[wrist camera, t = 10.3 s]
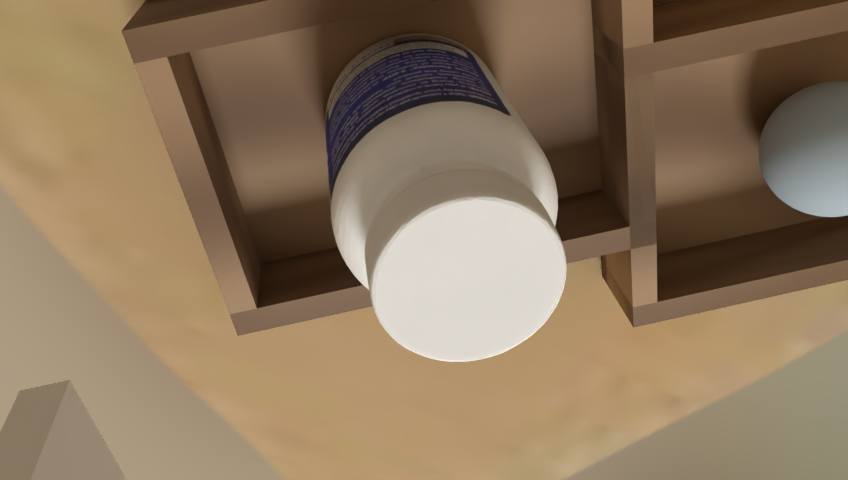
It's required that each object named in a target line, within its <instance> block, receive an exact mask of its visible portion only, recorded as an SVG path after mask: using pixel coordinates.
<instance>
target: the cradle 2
mask: <svg viewBox="0 0 848 480" xmlns="http://www.w3.org/2000/svg"><path fill="white" fill-rule="evenodd" d="M592 27H593V44H594V52H595V53H596V54H597V55H599V56H600V57H601V58H602V59H603V60H604V61H605V62H608V61H607V60H608V58H611V57H609V56H610V55H611V53H609V52H610V51H611V50H612V49H611V50H609V49H610V48H612V47H613V45H612V47H610V48H607V47H608V46H607V45H606V44H610V43H608V42H609V41H610V39H609V38H608V36H606V35H605V34H604V33H603V32H601V31H600V30H599V29H598V28H596V27H595V26H594V25H593V24H592ZM603 35H604V36H603ZM606 37H607V39H606ZM608 39H609V40H608ZM611 41H612V40H611ZM611 41H610V42H611ZM603 43H605V44H603ZM611 44H614V43H611ZM615 45H616V44H615ZM609 46H610V45H609ZM605 49H606V51H605ZM607 49H608V50H607ZM612 51H613V50H612ZM607 52H608V53H609V56H608V53H607ZM605 53H606V54H605ZM636 53H637V54H636ZM623 54H624V64H625V65H624V81H625V84H626V85H625V97H626V98H625V108H626V120H627V121H626V129H627V130H626V135H627V138H629V139H627V162H628V175H629V176H628V189H629V193H632V194H629V207H631V208H629V217H630V216H632V217H630V228H631V229H630V232H631V234H630V236H631V235H632V234H633V233H634V234H633V235H634V238H633V235H632V236H631V237H632V238H633V240H632V242H631V240H630V242H631V243H630V244H632V245H633V243H635V244H634V245H637V246H635V247H638V248H634V249H630V250H625V251H621V252H616V253H612V254H607V255H603V256H601V259H602V276H603V278H604V280H605V282H606V283H607V285H608V287H609V288H610V290H611V291H612V293H613V295H614V296H615V298H616V300H617V301H618V303H619V304H620V306H621V308H622V309H623V311H624V313H625V314H626V316H627V317H628V319H629V321H630V322H631V324H632V326H633V327H638V326H642V325H647V324H651V323H656V322H660V321H664V320H669V319H673V318H678V317H682V316H687V315H691V314H696V313H700V312H705V311H709V310H714V309H718V308H723V307H727V306H732V305H736V304H741V303H745V302H750V301H754V300H759V299H763V298H768V297H772V296H777V295H781V294H786V293H790V292H795V291H799V290H804V289H808V288H813V287H817V286H822V285H826V284H831V283H835V282H840V281H844V280H848V215H847V216H840V217H821V216H815V215H811V214H806V213H804V212H801V211H799V210H796V209H794V208H792V207H791V206H789V205H787V204H786V203H784V202H783V201H782V200H781V199H779V198H778V197H777V196H776V195H775V194H774V193H773V191H772V190H771V189H770V188H769V186H768V184H767V183H766V181H765V179H764V177H763V174H762V171H761V168H760V164H759V150H758V149H759V142H760V138H761V134H762V131H763V129H764V126H765V124H766V122H767V120H768V119H769V117H770V116H771V114H772V113H773V112H774V111H775V109H776V108H777V107H778V106H779V105H780V104H781V103H782V102H783V101H785V100H786V99H787V98H789V97H790V96H792V95H793V94H795V93H797V92H798V91H800V90H802V89H804V88H807V87H809V86H812V85H816V84H820V83H824V82H831V81H847V82H848V0H679V1H674V2H670V3H665V4H660V5H655V6H653V43H650V44H645V45H640V46H636V47H631V48H626V49H623ZM606 55H607V56H606ZM615 55H616V54H615ZM604 56H605V57H604ZM612 56H613V55H612ZM631 56H632V57H631ZM614 57H615V56H614ZM610 60H611V59H610ZM610 60H609V61H610ZM613 62H614V61H613ZM611 63H612V62H611ZM608 64H610V62H608ZM611 65H612V64H611ZM637 67H638V68H637ZM651 68H652V69H651ZM650 74H653V75H650ZM646 75H647V76H646ZM639 76H641V77H639ZM634 77H636V78H634ZM628 78H631V80H632V81H631V80H630V79H628ZM648 79H650V80H648ZM628 80H629V81H628ZM636 80H637V81H639V82H637V81H636ZM643 80H644V81H643ZM626 81H627V82H626ZM634 81H635V82H634ZM629 82H630V84H631V85H630V84H629ZM632 82H633V83H632ZM627 83H628V85H629V86H628V85H627ZM652 83H653V84H652ZM646 84H648V85H646ZM633 85H634V86H636V85H637V86H636V87H634V86H633ZM640 85H641V86H640ZM642 85H643V86H642ZM626 87H627V89H628V90H627V89H626ZM629 87H631V88H630V89H629ZM637 87H638V88H637ZM650 88H652V89H650ZM644 89H645V90H644ZM630 90H631V91H630ZM633 90H634V92H635V93H634V92H632V91H633ZM638 90H640V91H638ZM636 91H637V92H636ZM627 92H629V93H627ZM653 92H654V93H653ZM631 93H632V94H631ZM637 93H638V94H637ZM648 93H650V94H648ZM627 94H628V96H629V97H628V96H627ZM629 94H630V95H629ZM643 94H644V95H643ZM632 95H633V96H632ZM630 96H632V97H630ZM638 96H639V97H638ZM651 97H652V98H651ZM628 98H629V99H628ZM634 98H635V99H634ZM637 98H638V99H637ZM645 98H646V99H645ZM631 99H632V100H633V101H632V100H631ZM640 99H642V100H640ZM634 100H636V102H635V101H634ZM629 101H631V103H630V102H629ZM638 101H639V103H640V105H637V104H639V103H638ZM633 102H634V103H633ZM649 102H651V103H649ZM628 103H629V104H628ZM644 103H645V104H644ZM631 104H632V105H634V106H633V107H632V106H631ZM626 106H628V107H626ZM635 106H636V107H635ZM637 106H638V107H639V108H640V109H639V108H638V107H637ZM652 106H653V107H652ZM646 107H648V108H646ZM633 108H634V109H633ZM636 108H637V111H638V112H639V114H638V112H637V111H636ZM641 108H643V109H641ZM631 109H632V111H631ZM629 110H630V112H629ZM634 110H635V111H634ZM640 111H641V112H640ZM651 111H652V112H651ZM635 112H636V113H635ZM644 112H646V113H644ZM630 113H631V115H632V116H631V115H630ZM632 113H633V114H635V115H633V114H632ZM640 113H641V114H640ZM627 115H629V116H627ZM636 115H637V116H636ZM639 115H640V116H639ZM653 115H654V116H653ZM634 116H635V117H634ZM648 116H650V117H648ZM640 117H641V118H640ZM642 117H644V118H642ZM637 118H639V119H637ZM630 119H632V120H630ZM635 119H636V120H637V121H636V120H635ZM633 120H634V121H635V124H636V125H635V124H634V121H633ZM638 120H639V121H640V122H641V123H640V122H639V121H638ZM641 120H642V121H641ZM652 120H653V121H652ZM646 121H648V122H646ZM631 122H632V123H631ZM629 124H630V125H629ZM633 125H634V126H633ZM638 125H639V126H638ZM649 125H651V126H649ZM643 126H646V127H643ZM637 127H640V128H641V130H640V128H637ZM633 128H635V130H636V131H635V130H634V129H633ZM642 128H643V129H642ZM652 129H655V130H652ZM632 130H633V131H632ZM647 130H648V131H647ZM641 131H642V133H641ZM643 131H644V132H643ZM633 132H634V133H633ZM636 132H638V133H636ZM630 133H632V134H630ZM639 133H640V134H639ZM650 134H652V135H650ZM637 135H638V136H637ZM646 135H647V136H646ZM635 136H636V137H637V138H636V137H635ZM639 136H641V137H642V138H641V137H639ZM633 137H635V138H634V139H635V140H634V139H633ZM639 138H640V141H641V142H640V141H639ZM654 138H655V139H654ZM636 139H637V140H638V141H639V143H638V142H637V140H636ZM642 139H643V140H642ZM648 139H649V140H648ZM631 142H633V143H631ZM635 143H636V144H637V146H638V147H636V144H635ZM644 143H645V145H644ZM652 143H654V144H652ZM647 144H648V145H647ZM634 145H635V147H634ZM639 145H642V146H643V147H644V149H646V150H645V152H644V149H643V147H642V146H639ZM645 146H646V148H645ZM629 147H630V148H629ZM640 147H641V148H642V149H641V148H640ZM638 148H639V149H638ZM649 148H652V149H649ZM638 150H640V152H641V153H640V152H639V151H638ZM632 151H634V152H632ZM637 151H638V152H637ZM642 152H643V153H642ZM654 152H655V153H654ZM646 153H647V155H646ZM648 153H649V154H648ZM641 154H642V156H641ZM636 155H639V156H640V157H639V156H636ZM630 156H632V157H630ZM642 157H643V158H644V160H643V158H642ZM645 157H646V159H645ZM651 157H652V158H651ZM637 158H638V160H637ZM640 158H641V159H642V160H639V159H640ZM633 160H636V161H633ZM646 160H647V162H646ZM629 161H630V162H629ZM641 161H642V162H641ZM644 161H645V162H644ZM639 162H640V163H639ZM648 162H651V163H648ZM642 163H643V164H644V163H645V164H644V166H643V164H642ZM647 163H648V164H647ZM637 164H639V165H637ZM631 165H633V166H631ZM646 166H647V167H646ZM652 166H654V167H652ZM639 167H640V168H641V167H642V168H643V171H644V172H643V171H642V169H640V170H639ZM647 168H648V169H649V172H648V169H647ZM636 169H637V170H636ZM645 169H646V170H645ZM629 170H631V171H629ZM638 171H639V172H638ZM640 171H641V172H642V173H641V172H640ZM650 171H651V172H650ZM645 172H646V173H645ZM638 173H640V175H639V174H638ZM647 173H648V174H647ZM649 173H650V174H649ZM633 174H634V175H633ZM645 174H646V175H645ZM653 175H655V176H653ZM640 176H641V177H640ZM645 176H646V177H645ZM648 176H649V178H650V179H649V178H648ZM637 178H638V179H637ZM644 178H645V179H644ZM646 178H647V179H646ZM630 179H633V180H630ZM650 180H652V181H650ZM642 181H643V182H644V183H643V182H642ZM645 181H648V182H649V183H648V182H646V183H645ZM639 182H640V183H639ZM641 182H642V183H641ZM634 183H636V184H634ZM629 184H630V185H629ZM644 184H645V187H646V188H645V187H644ZM649 184H650V186H649ZM654 184H656V185H654ZM641 185H642V186H641ZM647 186H648V187H647ZM638 187H639V188H638ZM632 188H633V189H632ZM643 188H644V189H643ZM648 188H649V189H650V190H649V189H648ZM651 188H652V189H653V190H651ZM646 189H647V191H646ZM641 190H642V191H643V190H644V191H645V192H644V191H643V193H642V192H641ZM649 191H650V192H651V194H652V195H653V196H652V195H650V192H649ZM635 192H637V193H635ZM646 194H647V196H645V197H644V196H643V195H646ZM640 196H641V197H640ZM649 196H650V198H651V199H650V198H649ZM633 197H634V198H633ZM642 197H643V198H642ZM647 197H648V198H647ZM652 197H653V198H652ZM645 198H646V200H645ZM654 198H656V199H654ZM642 199H643V200H645V201H644V202H645V203H644V202H643V201H642ZM648 199H650V200H648ZM651 200H652V201H651ZM636 201H639V202H636ZM646 201H647V202H646ZM648 201H649V202H650V203H654V204H651V205H650V203H649V202H648ZM632 202H633V203H632ZM647 203H648V205H647ZM645 204H646V206H645ZM640 205H642V206H640ZM634 206H636V207H634ZM643 206H644V207H643ZM648 206H649V207H650V208H651V207H652V208H651V211H652V214H651V211H650V209H649V207H648ZM646 207H647V208H648V209H647V208H646ZM655 207H656V208H655ZM644 208H645V210H643V209H644ZM652 209H653V210H654V211H653V210H652ZM638 210H640V211H638ZM633 211H634V212H633ZM645 211H646V212H645ZM648 213H649V214H648ZM641 214H642V215H641ZM647 214H648V215H647ZM635 215H637V216H635ZM653 215H654V218H655V220H654V218H652V219H653V220H654V221H653V220H652V219H651V218H650V216H651V217H653ZM645 216H646V217H645ZM647 216H648V217H647ZM646 218H647V219H646ZM640 219H641V220H640ZM633 220H635V221H633ZM647 221H648V222H650V223H648V222H647ZM652 221H653V222H654V223H653V222H652ZM651 222H652V225H651ZM642 223H643V224H644V223H645V224H646V223H648V225H649V224H650V225H651V226H653V227H654V228H655V229H654V228H652V227H651V226H650V225H649V226H647V227H648V228H649V227H651V228H649V229H650V230H649V229H648V228H647V227H646V225H645V227H644V226H643V224H642ZM637 224H638V225H639V226H638V225H637ZM641 224H642V225H641ZM653 224H654V225H653ZM655 224H656V225H655ZM631 225H633V226H632V227H633V228H632V227H631ZM635 225H637V226H638V227H639V228H638V227H637V226H635ZM640 225H641V226H642V227H641V229H640ZM635 227H636V228H635ZM643 228H644V229H646V228H647V229H646V232H647V231H648V232H647V233H646V232H645V230H644V229H643ZM634 229H635V230H634ZM636 229H637V230H636ZM638 229H640V230H641V231H640V230H638ZM642 229H643V231H644V232H645V234H643V233H644V232H643V231H642ZM654 230H655V231H656V232H655V231H654ZM632 231H633V232H632ZM635 231H636V232H637V231H638V232H637V233H639V235H640V233H641V232H642V234H643V235H640V236H639V235H638V234H637V233H636V232H635ZM649 231H650V232H651V231H652V232H653V234H652V235H650V234H651V233H652V232H651V233H649ZM655 233H656V234H655ZM646 234H647V235H648V234H649V235H648V236H649V237H650V238H648V236H647V235H646ZM635 235H636V236H638V237H636V236H635ZM645 235H646V236H645ZM654 235H655V236H656V237H655V236H654ZM642 236H643V237H642ZM652 236H653V238H652ZM631 237H630V239H632V238H631ZM635 237H636V238H635ZM639 237H640V238H639ZM645 237H646V238H647V239H646V238H645ZM654 237H655V238H654ZM637 238H638V239H639V240H638V239H637ZM641 238H642V239H643V240H642V239H641ZM635 239H636V240H635ZM640 239H641V240H642V241H641V240H640ZM644 239H645V242H646V243H645V242H644ZM648 239H649V240H650V242H651V240H652V242H651V244H652V245H650V242H649V240H648ZM654 239H655V240H656V241H655V240H654ZM653 240H654V241H653ZM636 241H637V242H636ZM647 242H648V243H649V244H648V243H647ZM653 242H654V243H655V242H656V243H657V244H656V243H655V244H654V243H653ZM638 243H639V244H641V243H644V244H641V245H639V244H638ZM646 244H647V246H644V245H646ZM634 245H633V246H634ZM642 245H643V247H641V246H642ZM633 246H632V247H633ZM632 247H631V248H632Z"/></svg>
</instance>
